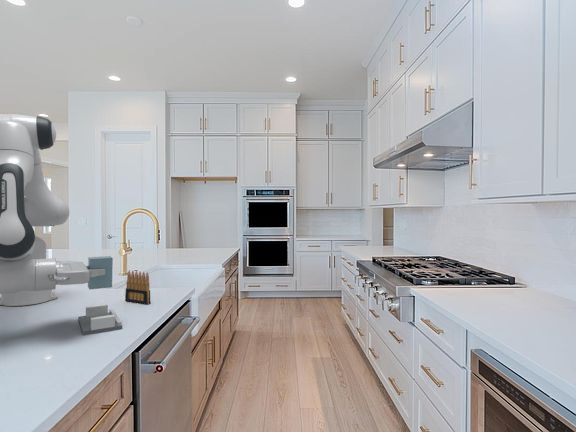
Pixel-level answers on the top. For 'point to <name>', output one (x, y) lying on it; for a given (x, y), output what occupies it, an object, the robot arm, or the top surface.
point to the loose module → (102, 280)
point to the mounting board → (87, 325)
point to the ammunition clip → (137, 288)
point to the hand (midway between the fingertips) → (103, 270)
